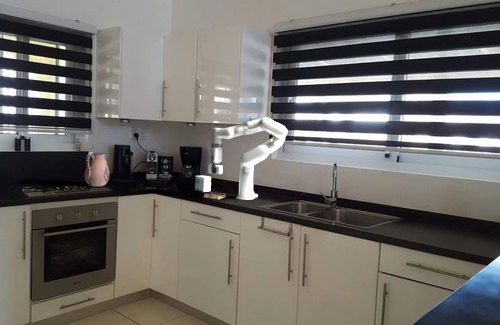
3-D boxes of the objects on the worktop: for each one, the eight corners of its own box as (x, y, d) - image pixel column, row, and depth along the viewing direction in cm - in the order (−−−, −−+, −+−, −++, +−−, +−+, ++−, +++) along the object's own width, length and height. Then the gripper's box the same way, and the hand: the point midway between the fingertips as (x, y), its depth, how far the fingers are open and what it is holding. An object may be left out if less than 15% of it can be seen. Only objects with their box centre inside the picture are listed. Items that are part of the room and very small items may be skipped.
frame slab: (222, 173, 280) (222, 165, 279) (219, 174, 277) (220, 166, 276) (211, 172, 284) (211, 164, 283) (208, 172, 281) (208, 164, 280)
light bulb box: (194, 189, 309) (195, 175, 308) (201, 189, 313) (202, 175, 312) (203, 192, 301) (204, 177, 300) (210, 191, 306) (211, 176, 305)
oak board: (225, 197, 284) (225, 193, 284) (218, 199, 275) (218, 195, 275) (211, 195, 289) (212, 191, 288) (204, 197, 280) (204, 193, 279)
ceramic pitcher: (113, 184, 317) (113, 152, 315) (100, 188, 296) (100, 154, 294) (91, 183, 319) (91, 151, 317) (77, 187, 298) (77, 153, 296)
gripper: (218, 145, 287) (217, 171, 289) (205, 146, 273) (204, 173, 274) (227, 145, 284) (226, 172, 286) (214, 146, 269) (214, 174, 271)
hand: (215, 172), depth 280 cm, fingers closed on frame slab, 3 cm apart
